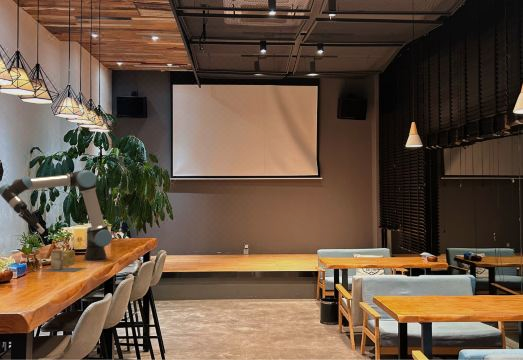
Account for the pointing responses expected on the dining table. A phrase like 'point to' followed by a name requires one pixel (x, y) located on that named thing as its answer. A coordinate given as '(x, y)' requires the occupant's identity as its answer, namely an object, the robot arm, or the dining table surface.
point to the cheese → (68, 257)
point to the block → (56, 259)
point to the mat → (65, 270)
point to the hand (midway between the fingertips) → (42, 232)
